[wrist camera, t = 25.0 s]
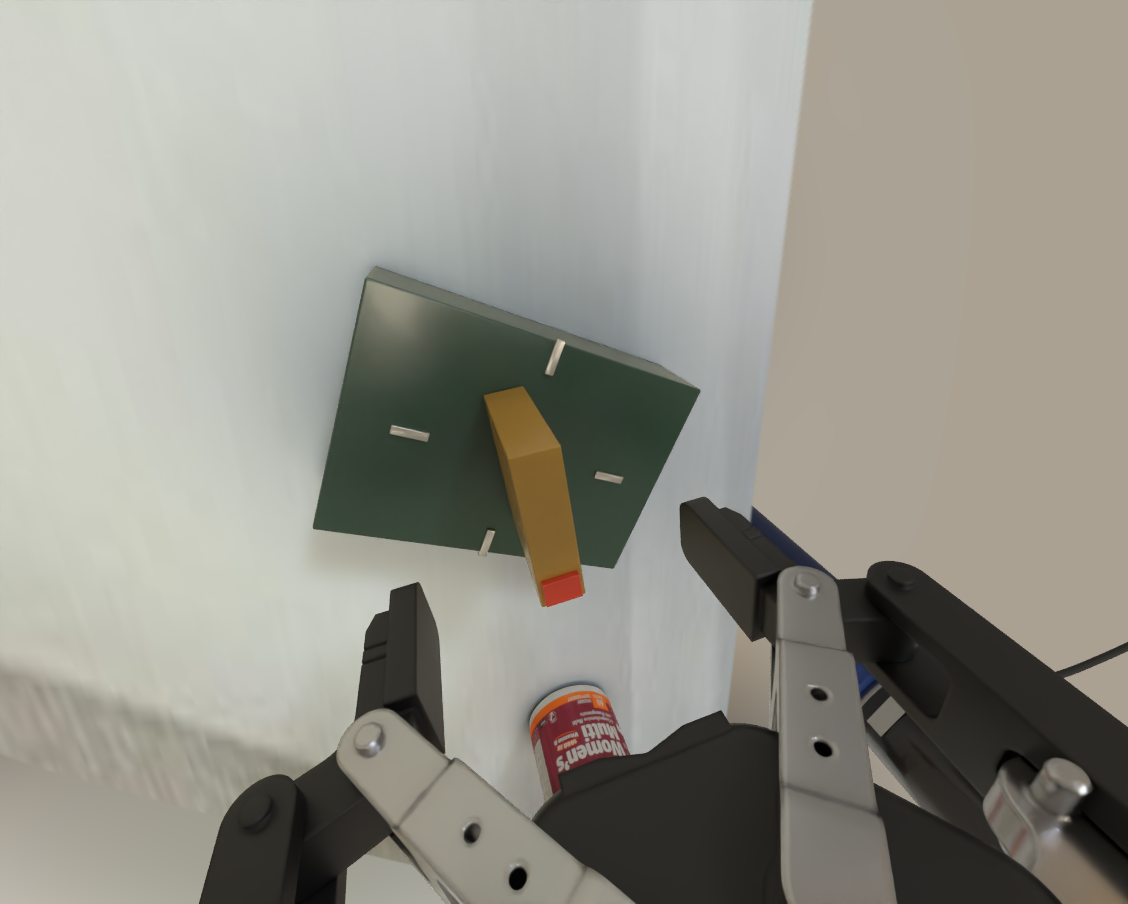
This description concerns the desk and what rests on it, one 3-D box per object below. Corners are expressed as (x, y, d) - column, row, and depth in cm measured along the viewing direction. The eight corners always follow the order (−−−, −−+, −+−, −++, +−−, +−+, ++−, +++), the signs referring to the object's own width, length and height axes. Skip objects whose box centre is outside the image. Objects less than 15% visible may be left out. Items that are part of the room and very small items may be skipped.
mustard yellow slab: (482, 394, 18) (509, 463, 13) (523, 385, 18) (563, 448, 13) (513, 518, 21) (544, 613, 16) (547, 509, 21) (587, 598, 16)
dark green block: (661, 363, 24) (704, 389, 20) (588, 526, 27) (614, 573, 24) (374, 262, 19) (365, 274, 15) (327, 482, 22) (310, 533, 18)
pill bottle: (604, 670, 34) (681, 855, 24) (608, 722, 37) (678, 905, 27) (521, 697, 33) (566, 903, 23) (532, 748, 35) (576, 950, 26)
